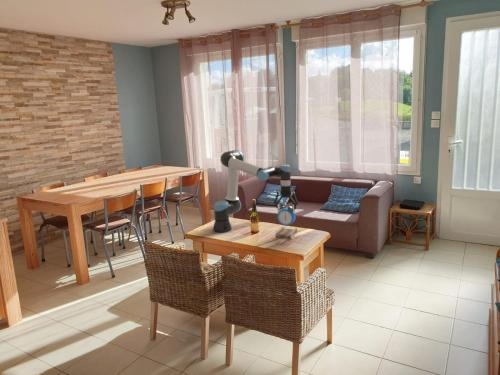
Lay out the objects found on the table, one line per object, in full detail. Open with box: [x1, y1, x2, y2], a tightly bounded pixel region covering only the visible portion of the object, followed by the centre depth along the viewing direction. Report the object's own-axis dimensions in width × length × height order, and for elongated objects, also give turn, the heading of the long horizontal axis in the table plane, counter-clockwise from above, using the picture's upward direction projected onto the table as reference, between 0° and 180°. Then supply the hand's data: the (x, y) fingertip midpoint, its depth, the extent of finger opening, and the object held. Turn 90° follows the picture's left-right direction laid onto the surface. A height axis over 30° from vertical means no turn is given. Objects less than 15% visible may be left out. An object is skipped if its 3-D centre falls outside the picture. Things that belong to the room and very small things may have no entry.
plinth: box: [275, 226, 298, 240], centre depth 315 cm, size 12×18×4 cm
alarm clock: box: [277, 205, 297, 227], centre depth 312 cm, size 13×6×15 cm, turn 63°
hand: (286, 212), depth 312 cm, fingers closed on alarm clock, 11 cm apart
